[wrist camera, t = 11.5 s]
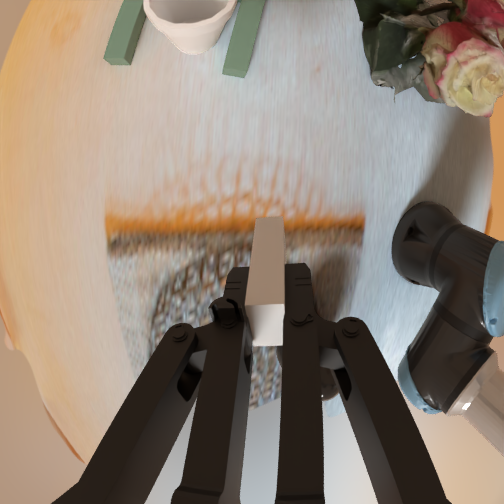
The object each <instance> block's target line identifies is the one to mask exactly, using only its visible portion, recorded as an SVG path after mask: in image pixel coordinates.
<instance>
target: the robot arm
mask: <svg viewBox="0 0 504 504" xmlns="http://www.w3.org/2000/svg"><path fill="white" fill-rule="evenodd" d="M392 260H393V264H394V266H395V269H396V270H397V272H398V273H399V274H400V275H401V276H402V277H403V278H405V279H406V280H407V281H409V282H411V283H413V284H417V285H422V286H426V287H431V288H435V289H436V290H438V291H439V292H440V293H439V295H438V297H437V299H436V301H435V303H434V305H433V307H432V309H431V311H430V312H429V314H428V316H427V318H426V320H425V321H424V323H423V325H422V327H421V328H420V330H419V332H418V333H417V335H416V337H415V338H414V340H413V341H412V343H411V344H410V345H409V346H408V348H407V350H406V354H405V355H404V357H403V359H402V360H401V362H400V364H399V367H398V381H399V385H400V387H401V389H402V391H403V393H404V394H405V396H406V397H407V399H408V400H409V401H410V402H411V403H412V404H413V405H414V406H415V407H417V408H418V409H423V411H424V412H426V413H428V414H436V413H439V412H442V411H443V412H444V413H445V414H446V415H447V416H455V415H462V416H463V417H464V418H465V419H466V420H467V421H469V423H470V424H471V425H472V426H473V427H474V428H475V429H476V430H478V432H479V433H480V434H482V435H483V436H484V437H485V438H486V439H487V440H488V441H489V442H490V443H491V444H492V445H493V446H494V447H495V448H496V449H497V450H498V451H499V452H500V453H501V454H502V455H503V456H504V372H503V371H502V370H501V369H499V366H498V360H497V359H498V358H497V353H496V352H495V351H494V350H493V349H491V348H490V347H489V344H490V342H491V340H492V339H493V337H501V336H503V335H504V241H499V240H496V239H494V238H492V237H490V236H488V235H486V234H483V233H481V232H479V231H477V230H475V229H473V228H470V227H468V226H466V225H463V224H462V223H461V222H460V221H459V220H458V219H457V218H456V217H455V216H454V215H453V214H452V213H451V212H450V211H449V210H448V209H447V208H446V207H444V206H442V205H440V204H437V203H434V202H422V203H419V204H417V205H415V206H414V207H412V208H411V209H410V210H409V211H408V212H407V213H406V214H405V215H404V217H403V218H402V219H401V221H400V223H399V225H398V227H397V229H396V231H395V234H394V238H393V243H392ZM208 309H209V312H210V315H211V318H212V320H213V322H211V323H210V324H208V325H205V326H201V327H197V328H193V327H192V326H191V325H190V324H187V323H179V324H175V325H174V326H172V327H170V328H169V330H168V331H167V332H166V333H165V335H164V337H163V338H162V340H161V341H160V343H159V345H158V346H157V348H156V350H155V351H154V353H153V354H152V356H151V358H150V359H149V361H148V363H147V364H146V366H145V368H144V369H143V371H142V372H141V374H140V376H139V377H138V379H137V381H136V382H135V384H134V386H133V387H132V389H131V391H130V392H129V394H128V396H127V397H126V399H125V401H124V403H123V404H122V406H121V408H120V409H119V411H118V413H117V414H116V416H115V418H114V420H113V421H112V423H111V425H110V426H109V428H108V430H107V432H106V433H105V435H104V437H103V439H102V440H101V442H100V444H99V446H98V447H97V449H96V451H95V453H94V455H93V456H92V458H91V460H90V462H89V464H88V465H87V467H86V469H85V471H84V473H83V474H82V476H81V478H80V480H79V482H78V483H76V484H75V485H74V486H73V487H71V488H70V489H69V490H68V491H67V492H65V493H64V494H63V495H61V496H60V497H59V498H58V499H56V500H55V501H54V502H52V503H51V504H144V503H145V501H146V500H147V498H148V495H149V494H150V492H151V490H152V488H153V486H154V484H155V482H156V480H157V478H158V476H159V474H160V472H161V470H162V468H163V466H164V464H165V462H166V460H167V458H168V455H169V454H170V452H171V450H172V447H173V445H174V443H175V441H176V439H177V437H178V435H179V433H180V431H181V429H182V427H183V425H184V423H185V421H186V419H187V417H188V415H189V413H190V411H191V408H192V407H193V404H194V402H195V400H196V398H197V401H196V407H195V412H194V417H193V422H192V427H191V433H190V438H189V443H188V448H187V454H186V459H185V465H184V470H183V477H182V481H181V484H180V486H179V487H178V488H177V489H176V490H175V491H174V493H173V496H172V499H171V504H241V503H240V487H241V477H242V467H243V458H244V448H245V437H246V427H247V417H248V406H249V396H250V385H251V374H252V363H253V353H252V341H253V345H254V346H281V345H283V352H282V390H281V418H280V419H281V420H280V441H279V460H278V476H277V491H276V499H275V504H325V497H324V446H323V415H322V414H323V412H322V390H321V373H320V366H321V367H325V368H329V369H330V370H331V373H332V375H333V378H334V381H335V383H336V386H337V389H338V391H339V394H340V396H341V399H342V402H343V404H344V407H345V410H346V413H347V415H348V418H349V421H350V423H351V426H352V429H353V432H354V434H355V437H356V440H357V443H358V445H359V448H360V451H361V454H362V457H363V460H364V463H365V465H366V468H367V471H368V474H369V477H370V480H371V483H372V486H373V489H374V492H375V495H376V498H377V501H378V504H452V503H451V502H449V500H448V499H446V496H445V493H444V490H443V488H442V485H441V483H440V480H439V477H438V475H437V472H436V470H435V467H434V465H433V463H432V460H431V458H430V455H429V453H428V450H427V448H426V446H425V444H424V441H423V439H422V437H421V434H420V432H419V430H418V428H417V425H416V423H415V421H414V419H413V417H412V414H411V412H410V410H409V408H408V406H407V404H406V402H405V399H404V397H403V395H402V393H401V391H400V389H399V387H398V385H397V383H396V381H395V379H394V377H393V375H392V373H391V371H390V369H389V367H388V365H387V363H386V361H385V359H384V357H383V355H382V353H381V351H380V350H379V348H378V346H377V344H376V342H375V340H374V338H373V336H372V334H371V333H370V331H369V329H368V327H367V325H366V324H365V323H364V322H363V321H362V320H360V319H359V318H355V317H345V318H343V319H341V320H339V321H338V322H337V323H336V322H331V321H327V320H324V319H322V318H321V317H319V316H318V315H317V313H316V312H315V309H314V301H313V291H312V282H311V273H310V269H309V268H308V266H307V265H306V264H305V263H295V264H286V247H285V234H284V222H283V216H280V217H266V218H256V223H255V231H254V238H253V246H252V253H251V261H250V267H233V268H232V270H231V271H230V272H229V274H228V276H227V280H226V285H225V290H224V294H223V297H220V298H218V299H216V300H214V301H213V302H212V303H211V304H210V306H209V308H208Z"/></svg>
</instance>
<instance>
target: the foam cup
mask: <svg viewBox="0 0 504 504" xmlns="http://www.w3.org/2000/svg"><path fill="white" fill-rule="evenodd" d="M143 5H144V11H145V13H146V15H147V17H148V19H149V20H150V21H151V22H152V24H153V25H154V26H155V27H156V29H157V30H159V31H161V32H163V33H164V34H165V36H166V37H167V38H168V39H169V40H170V41H171V42H172V43H173V44H174V45H175V46H176V47H177V48H178V49H179V50H180V51H182V52H184V53H187V54H201V53H204V52H207V51H209V50H210V49H211V48H212V47H213V46H214V45H216V43H217V40H218V38H219V36H220V34H221V32H222V30H223V28H224V25H225V23H226V21H227V20H229V19H230V17H231V15H232V13H233V11H234V9H235V7H236V5H237V0H143Z"/></svg>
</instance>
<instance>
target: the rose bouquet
mask: <svg viewBox="0 0 504 504" xmlns="http://www.w3.org/2000/svg"><path fill="white" fill-rule="evenodd" d="M354 1H355V3H356V6H357V9H358V13H359V17H360V20H361V21H362V22H364V23H363V26H364V31H363V43H364V51H365V55H366V58H367V60H368V62H369V65H370V67H371V70H372V71H371V79H372V80H373V83H374V84H375V85H376V86H379V85H380V86H381V87H384V86H386V87H391V88H392V87H393V86H394V87H395V94H394V102H395V95H396V94H398V93H399V92H401V91H403V90H406V89H408V88H411V87H413V86H414V87H415V88H416V90H417V91H418V92H419V93H420V94H421V96H422V97H423V98H424V99H425V100H426V101H430V102H433V101H434V102H436V103H437V102H438V103H441V102H442V103H446V105H447V106H450V107H455V106H458V107H459V108H460V109H462V110H463V111H464V112H465V114H466V113H470V114H472V115H474V116H484V117H491V115H492V113H493V108H494V102H496V100H497V98H498V97H501V96H502V95H503V91H504V0H448V1H451V2H452V3H441V4H437V5H433V6H431V7H430V6H429V4H428V2H425V1H424V0H354ZM436 16H438V17H440V18H443V19H444V22H443V23H442V22H441V21H440V20H439V19H438V18H437V17H436ZM437 20H439V21H440V22H441V23H442V25H440V26H438V24H437ZM416 54H417V55H416ZM415 55H416V57H415V58H411V57H413V56H415ZM410 58H411V59H410ZM400 64H402V67H401V68H399V67H398V65H400Z"/></svg>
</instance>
